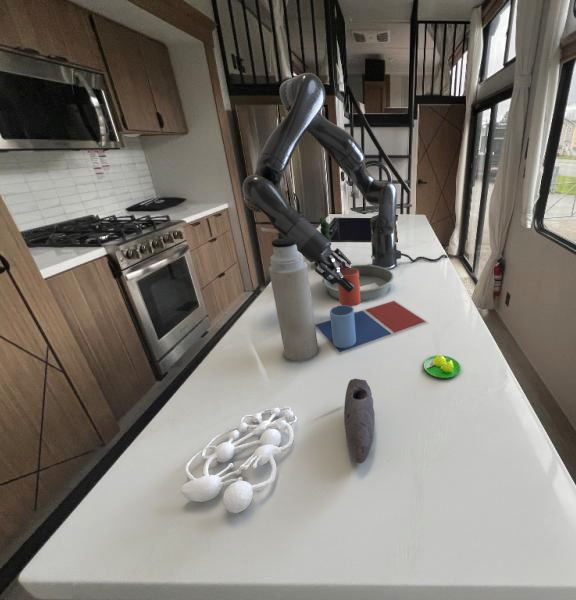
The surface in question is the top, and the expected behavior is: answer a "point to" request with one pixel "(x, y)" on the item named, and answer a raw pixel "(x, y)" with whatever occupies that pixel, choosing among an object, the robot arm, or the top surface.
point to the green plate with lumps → (443, 366)
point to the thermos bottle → (293, 300)
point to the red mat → (395, 316)
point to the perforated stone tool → (359, 419)
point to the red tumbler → (354, 295)
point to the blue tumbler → (343, 326)
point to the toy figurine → (324, 232)
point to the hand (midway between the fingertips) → (354, 284)
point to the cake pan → (367, 281)
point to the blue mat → (358, 330)
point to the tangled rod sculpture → (240, 491)
